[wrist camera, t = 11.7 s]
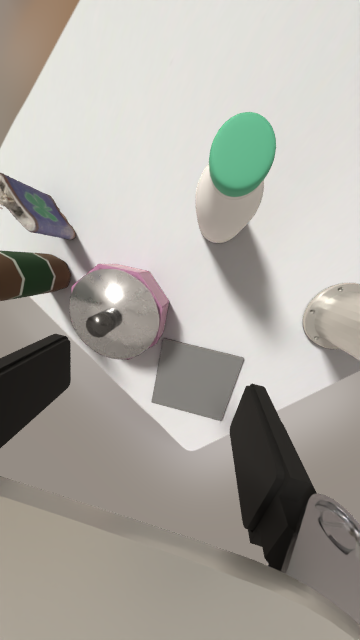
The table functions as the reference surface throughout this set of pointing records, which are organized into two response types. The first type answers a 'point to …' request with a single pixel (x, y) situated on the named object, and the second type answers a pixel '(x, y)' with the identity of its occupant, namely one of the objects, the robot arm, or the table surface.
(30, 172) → the table surface
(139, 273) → the pink octagonal dish
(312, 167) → the table surface
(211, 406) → the mat
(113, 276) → the lid
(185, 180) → the table surface
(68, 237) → the flask
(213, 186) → the milk bottle
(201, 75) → the table surface
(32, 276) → the beer bottle
